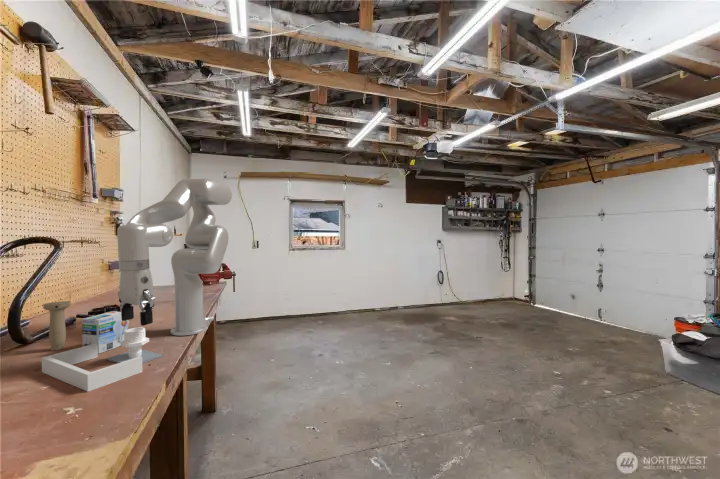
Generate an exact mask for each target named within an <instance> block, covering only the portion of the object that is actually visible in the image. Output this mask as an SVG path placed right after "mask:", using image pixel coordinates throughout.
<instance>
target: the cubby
mask: <svg viewBox="0 0 720 479" xmlns="http://www.w3.org/2000/svg"><path fill="white" fill-rule="evenodd" d="M98 357H99V354H98V344H92V345H88V346H84V347H83V346H81V347H78V348H72V349H69V350H65V351H61V352H58V353H54V354H53V353H52V354H50V355H46V356H42V357H41V373H43V374H46V375H48V376H50V377H52V378H54V379H57V380H59V381H61V382H64V383H67V384H69V385H71V386H73V387H76V388H78V389H80V390H83V391H85V392H87V393H88V392H91V391H93V390H94V391H95V390H96V389H100V388H102V387H105V386H107V385H110V384H113V383H115V382H118V381H121V380H123V379H127V378H129V377H132V376H134V375H137V374H138V375H139V374H140V373H143V363H142V357H136V358H133V359H130V360H127V361H124V362H121V363H115V364H112V365H109V366H106V367H103V368H100V369H96V370H94V371H93V370H92V371H89V370H86V369H83V368H80V367H78V366H76V364H79V363H83V362H85V361H89V360H93V359H96V358H98Z"/></svg>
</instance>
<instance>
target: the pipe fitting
mask: <svg viewBox="0 0 720 479" xmlns="http://www.w3.org/2000/svg"><path fill="white" fill-rule="evenodd" d="M124 332H125V333H124V335H125V336H124V338H125V339H124V341H122V342H120V346H119V347H123V348H124V347H125V348H127V350H128V352H129V353H128V354H129V358H136V357H139V356H141V354H142V350H141V349H143V345H145V344H147V343H149V342H150V337H146V328H145V327H143V326H141V327H140V326H139V327H132V328H128V330H125V331H124Z"/></svg>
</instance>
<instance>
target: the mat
mask: <svg viewBox="0 0 720 479" xmlns="http://www.w3.org/2000/svg"><path fill="white" fill-rule="evenodd" d="M141 350H142V354H141V356H139V357H142V364H145V363H147V362H151V361H153V360H156V359H158V358H162V357H163V354H161V353H157V352H153V351H150V350H147V349H143V348H142V349H141ZM128 353H129V351H126V352H123V353H120V354H116V355H114V356H110V357H107V358H106V360H107V361H110V362H112V363H115V364H118V363H121V362H124V361H127V360H130V359H133V358H129V354H128Z"/></svg>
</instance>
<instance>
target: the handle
mask: <svg viewBox="0 0 720 479" xmlns="http://www.w3.org/2000/svg"><path fill="white" fill-rule="evenodd" d="M70 306H71V301H69V300H67V301H66V300H65V301H54V302H47V303H43V304H42V307H43V310H46V311H49V329H48V338H49V344H50V351H51V352H53V351H61V350H63V349H65V343H66V338H67V329H66V319H65V309H67V308H69V307H70Z"/></svg>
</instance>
